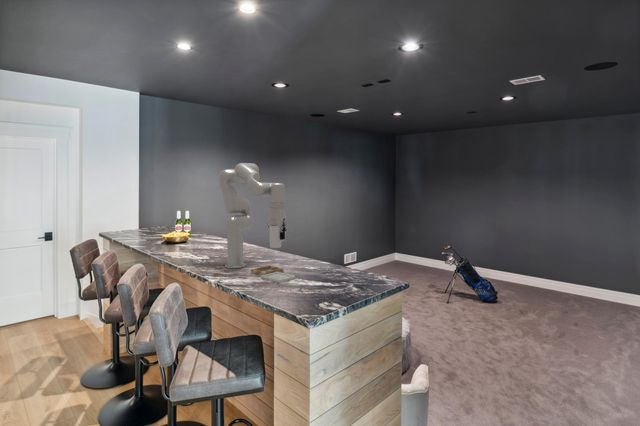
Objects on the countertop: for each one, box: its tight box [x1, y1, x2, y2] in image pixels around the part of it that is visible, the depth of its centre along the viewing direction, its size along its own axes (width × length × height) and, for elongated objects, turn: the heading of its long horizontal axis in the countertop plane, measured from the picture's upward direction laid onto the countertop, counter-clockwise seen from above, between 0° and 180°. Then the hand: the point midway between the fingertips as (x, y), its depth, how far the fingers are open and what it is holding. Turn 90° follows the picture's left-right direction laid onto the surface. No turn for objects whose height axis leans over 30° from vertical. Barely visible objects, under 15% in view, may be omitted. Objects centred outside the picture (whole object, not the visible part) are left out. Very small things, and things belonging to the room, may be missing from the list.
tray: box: [260, 272, 296, 284], centre depth 204 cm, size 14×12×2 cm
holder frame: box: [250, 264, 284, 277], centre depth 217 cm, size 12×14×2 cm
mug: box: [268, 225, 287, 249], centre depth 202 cm, size 10×7×12 cm, turn 128°
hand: (277, 238), depth 203 cm, fingers closed on mug, 6 cm apart
